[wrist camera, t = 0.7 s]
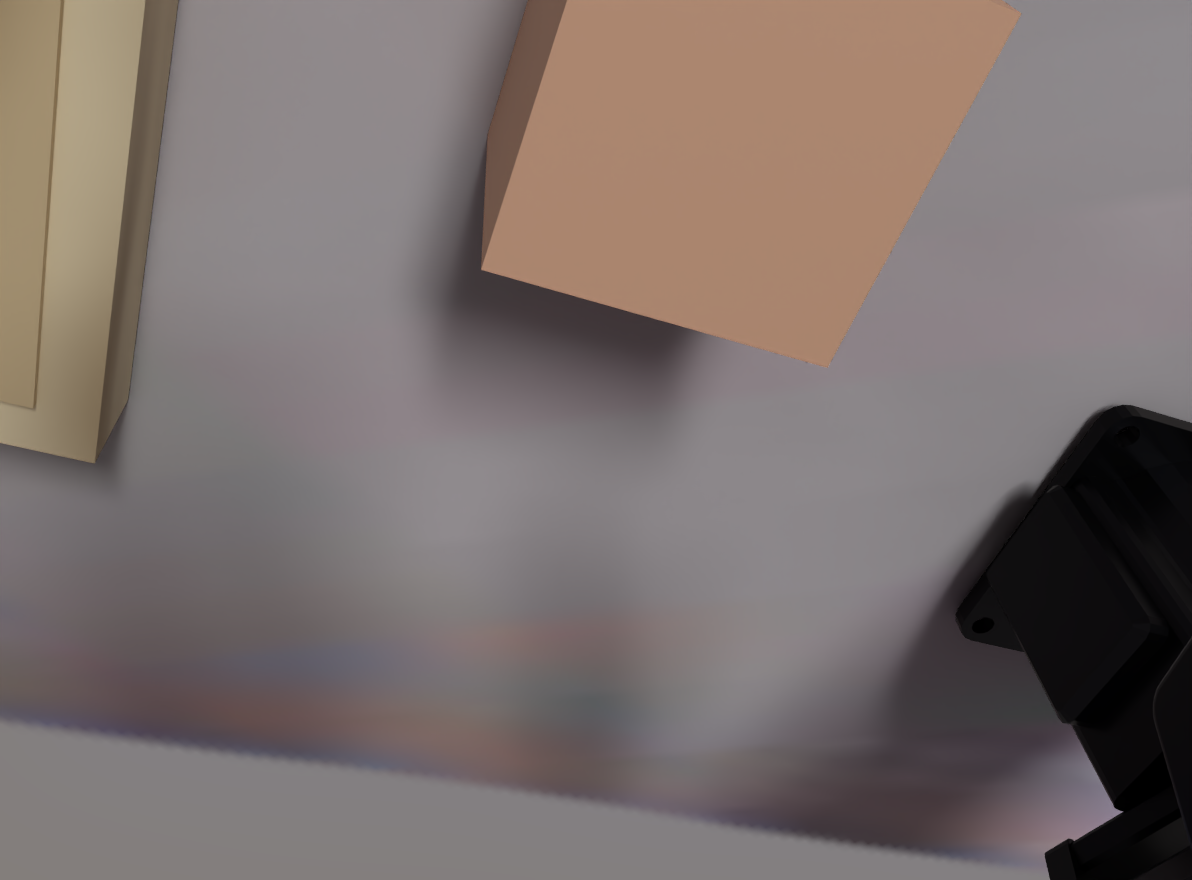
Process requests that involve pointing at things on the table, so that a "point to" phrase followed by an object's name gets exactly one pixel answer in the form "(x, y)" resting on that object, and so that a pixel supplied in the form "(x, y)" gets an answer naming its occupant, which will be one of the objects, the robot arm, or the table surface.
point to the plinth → (75, 210)
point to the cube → (727, 153)
